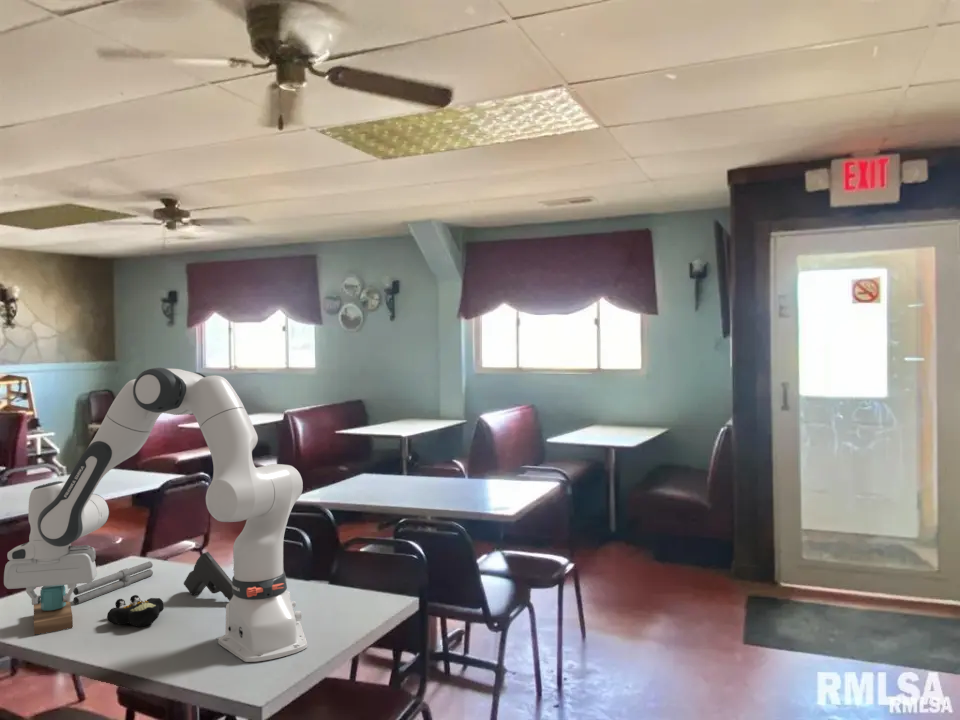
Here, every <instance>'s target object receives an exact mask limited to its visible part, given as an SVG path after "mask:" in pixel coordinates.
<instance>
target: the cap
mask: <svg viewBox="0 0 960 720" xmlns="http://www.w3.org/2000/svg"><path fill="white" fill-rule="evenodd" d="M40 588H41V589H40V595H41V598H40V599H41V609H42V610H44V611H46V610H55V609H59V608H62V607H64V606H65V605H66V602H63V600H64V599H63V595H65V594H66V585H54V586H41V587H40Z"/></svg>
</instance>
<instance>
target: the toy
mask: <svg viewBox="0 0 960 720" xmlns="http://www.w3.org/2000/svg"><path fill="white" fill-rule="evenodd" d="M129 603H130V604H126V600H125V599H124V598H118V599H117V600H116V601H115V607H112V608H110V609H109V611H108V612H107V616H106V618H107V621H108V622H109V623H110V624H113V625H117V624H119V625H123V624H130V625H132V626H134V627H137V628H142V627H146V626H149V625H152V623H154V622H155V621H156V620H157V619H158V617H159V615H160V613H162V612H163V611H164V609H165V607H164V606H165V605H164V601H163V599H162V598H160V597H158V598H157V597H150V598H148V599H146V600H143V599H142V598H141V597H140V596H139V595H137V594H134V595H132V596H131V597H130V598H129Z"/></svg>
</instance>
